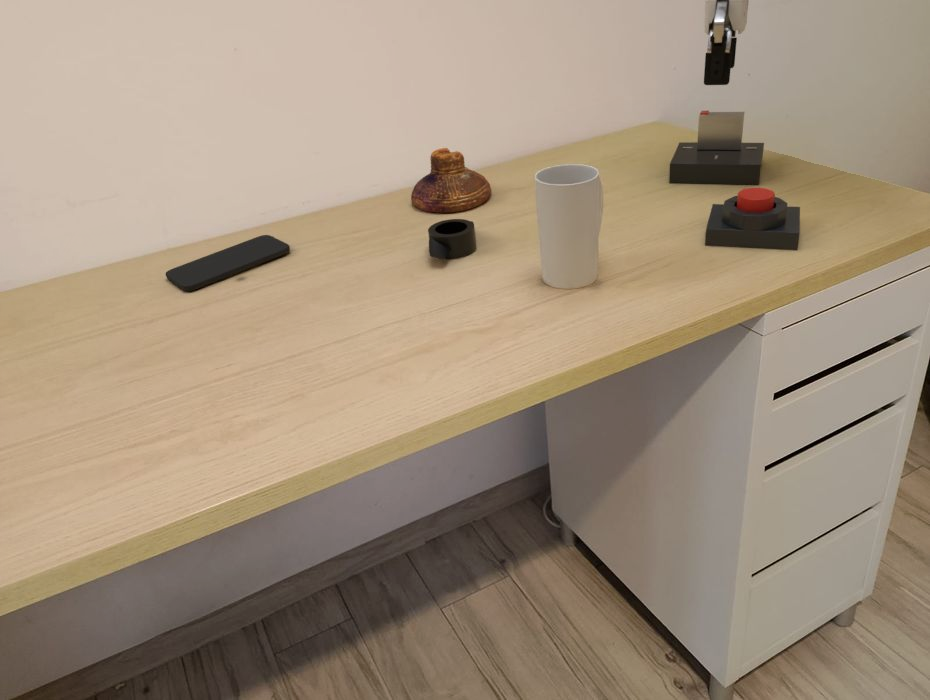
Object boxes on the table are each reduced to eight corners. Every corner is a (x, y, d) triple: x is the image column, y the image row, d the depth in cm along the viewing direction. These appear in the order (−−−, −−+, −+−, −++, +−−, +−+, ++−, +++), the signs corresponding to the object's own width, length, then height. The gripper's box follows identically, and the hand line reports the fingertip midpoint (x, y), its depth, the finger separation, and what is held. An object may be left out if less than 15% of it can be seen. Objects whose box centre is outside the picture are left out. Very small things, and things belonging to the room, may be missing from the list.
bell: (405, 194, 114) (398, 147, 111) (481, 181, 116) (477, 134, 112) (419, 220, 104) (412, 169, 101) (501, 205, 106) (497, 154, 102)
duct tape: (503, 245, 94) (501, 223, 93) (438, 271, 89) (435, 248, 88) (467, 229, 100) (465, 209, 98) (404, 253, 95) (401, 232, 93)
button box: (797, 223, 90) (802, 192, 88) (797, 250, 84) (801, 217, 82) (711, 220, 94) (713, 189, 92) (704, 246, 88) (707, 214, 86)
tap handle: (741, 146, 108) (744, 109, 105) (740, 150, 107) (743, 112, 104) (698, 146, 110) (700, 110, 107) (697, 149, 109) (699, 113, 106)
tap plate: (762, 158, 112) (764, 137, 110) (758, 186, 102) (761, 163, 101) (680, 157, 116) (681, 137, 114) (669, 183, 107) (669, 162, 105)
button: (773, 202, 88) (775, 187, 87) (772, 214, 85) (774, 200, 84) (737, 201, 89) (739, 186, 88) (735, 213, 86) (736, 198, 85)
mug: (577, 296, 80) (574, 188, 74) (527, 282, 84) (521, 179, 78) (627, 261, 86) (628, 159, 80) (578, 250, 90) (576, 152, 84)
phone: (162, 272, 96) (266, 233, 103) (164, 278, 96) (267, 238, 104) (184, 288, 91) (292, 246, 98) (187, 294, 91) (294, 251, 99)
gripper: (759, -63, 86) (744, 91, 95) (764, -74, 99) (751, 61, 108) (691, -57, 88) (683, 92, 97) (705, -69, 102) (697, 63, 111)
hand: (719, 76), depth 103 cm, fingers open, 9 cm apart
